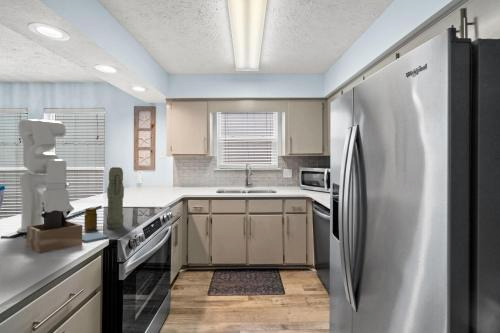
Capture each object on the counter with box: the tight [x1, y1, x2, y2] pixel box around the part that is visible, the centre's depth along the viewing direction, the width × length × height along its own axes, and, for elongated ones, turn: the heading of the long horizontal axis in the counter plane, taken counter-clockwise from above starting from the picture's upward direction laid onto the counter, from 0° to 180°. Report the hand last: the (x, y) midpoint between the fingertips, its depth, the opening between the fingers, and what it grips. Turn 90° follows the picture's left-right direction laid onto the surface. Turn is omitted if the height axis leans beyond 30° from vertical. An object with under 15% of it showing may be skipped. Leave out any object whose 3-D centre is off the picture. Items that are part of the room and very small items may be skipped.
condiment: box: [82, 207, 103, 233], centre depth 155 cm, size 7×8×12 cm
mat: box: [82, 231, 109, 243], centre depth 139 cm, size 12×10×1 cm
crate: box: [26, 220, 83, 254], centre depth 126 cm, size 15×16×9 cm
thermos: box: [106, 166, 125, 230], centre depth 163 cm, size 9×12×35 cm
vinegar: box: [43, 210, 62, 231], centre depth 125 cm, size 7×7×20 cm
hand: (55, 226), depth 126 cm, fingers closed on vinegar, 4 cm apart
